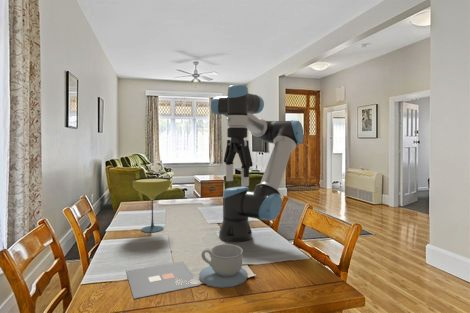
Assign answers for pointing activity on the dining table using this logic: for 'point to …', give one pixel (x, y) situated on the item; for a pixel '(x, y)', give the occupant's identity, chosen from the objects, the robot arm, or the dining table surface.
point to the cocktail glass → (151, 194)
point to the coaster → (222, 278)
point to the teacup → (224, 259)
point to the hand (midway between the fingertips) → (236, 183)
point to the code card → (159, 279)
